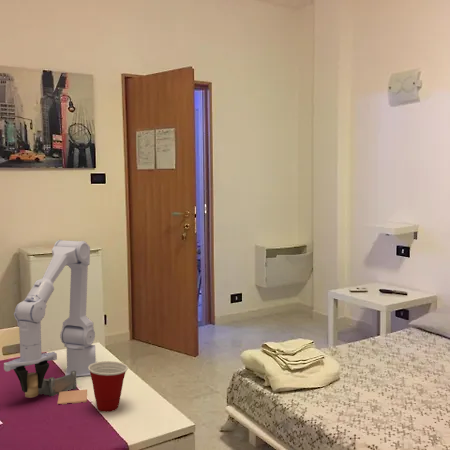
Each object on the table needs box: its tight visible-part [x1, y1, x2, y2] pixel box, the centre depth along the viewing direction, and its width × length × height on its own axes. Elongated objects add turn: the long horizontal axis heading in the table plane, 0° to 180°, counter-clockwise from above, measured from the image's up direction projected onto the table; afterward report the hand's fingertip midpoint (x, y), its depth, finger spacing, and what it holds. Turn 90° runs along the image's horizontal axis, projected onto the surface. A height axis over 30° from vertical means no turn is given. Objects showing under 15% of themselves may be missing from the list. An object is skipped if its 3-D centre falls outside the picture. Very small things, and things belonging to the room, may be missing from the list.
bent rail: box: [38, 371, 77, 397], centre depth 156 cm, size 14×6×5 cm, turn 104°
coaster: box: [57, 389, 88, 405], centre depth 153 cm, size 8×8×1 cm
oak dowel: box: [24, 371, 39, 399], centre depth 150 cm, size 4×4×6 cm
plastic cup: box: [88, 360, 129, 413], centre depth 146 cm, size 11×11×12 cm
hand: (31, 389), depth 150 cm, fingers closed on oak dowel, 4 cm apart
